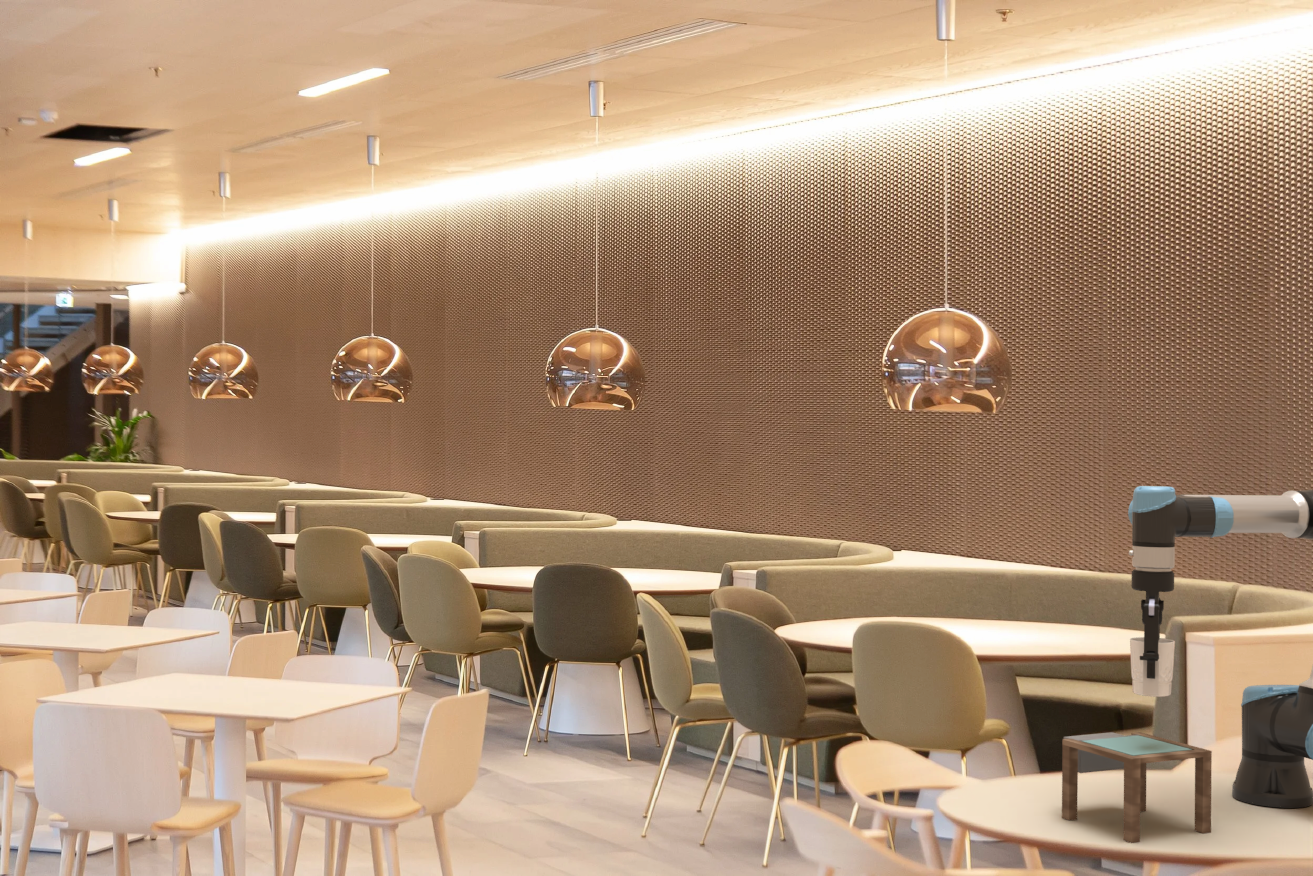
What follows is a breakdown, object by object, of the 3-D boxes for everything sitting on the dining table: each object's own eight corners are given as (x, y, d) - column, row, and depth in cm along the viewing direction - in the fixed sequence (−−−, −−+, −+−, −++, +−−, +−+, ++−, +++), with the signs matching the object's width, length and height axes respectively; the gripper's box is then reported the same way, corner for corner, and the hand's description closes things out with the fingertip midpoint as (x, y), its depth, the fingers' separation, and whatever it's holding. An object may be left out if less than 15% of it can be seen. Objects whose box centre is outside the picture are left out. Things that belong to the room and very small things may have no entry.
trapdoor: (1116, 762, 290) (1116, 729, 290) (1191, 784, 272) (1191, 748, 272) (1059, 768, 285) (1059, 734, 285) (1132, 791, 266) (1132, 754, 266)
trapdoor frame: (1138, 808, 288) (1139, 732, 288) (1210, 832, 271) (1211, 750, 271) (1061, 818, 280) (1062, 739, 280) (1131, 843, 263) (1131, 759, 263)
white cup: (1152, 699, 267) (1153, 644, 267) (1120, 692, 274) (1120, 638, 274) (1183, 695, 271) (1184, 641, 271) (1150, 689, 278) (1151, 636, 278)
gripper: (1133, 564, 284) (1132, 683, 284) (1129, 572, 265) (1127, 699, 264) (1175, 566, 281) (1173, 685, 281) (1173, 574, 262) (1171, 702, 262)
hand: (1151, 692), depth 273 cm, fingers closed on white cup, 7 cm apart
